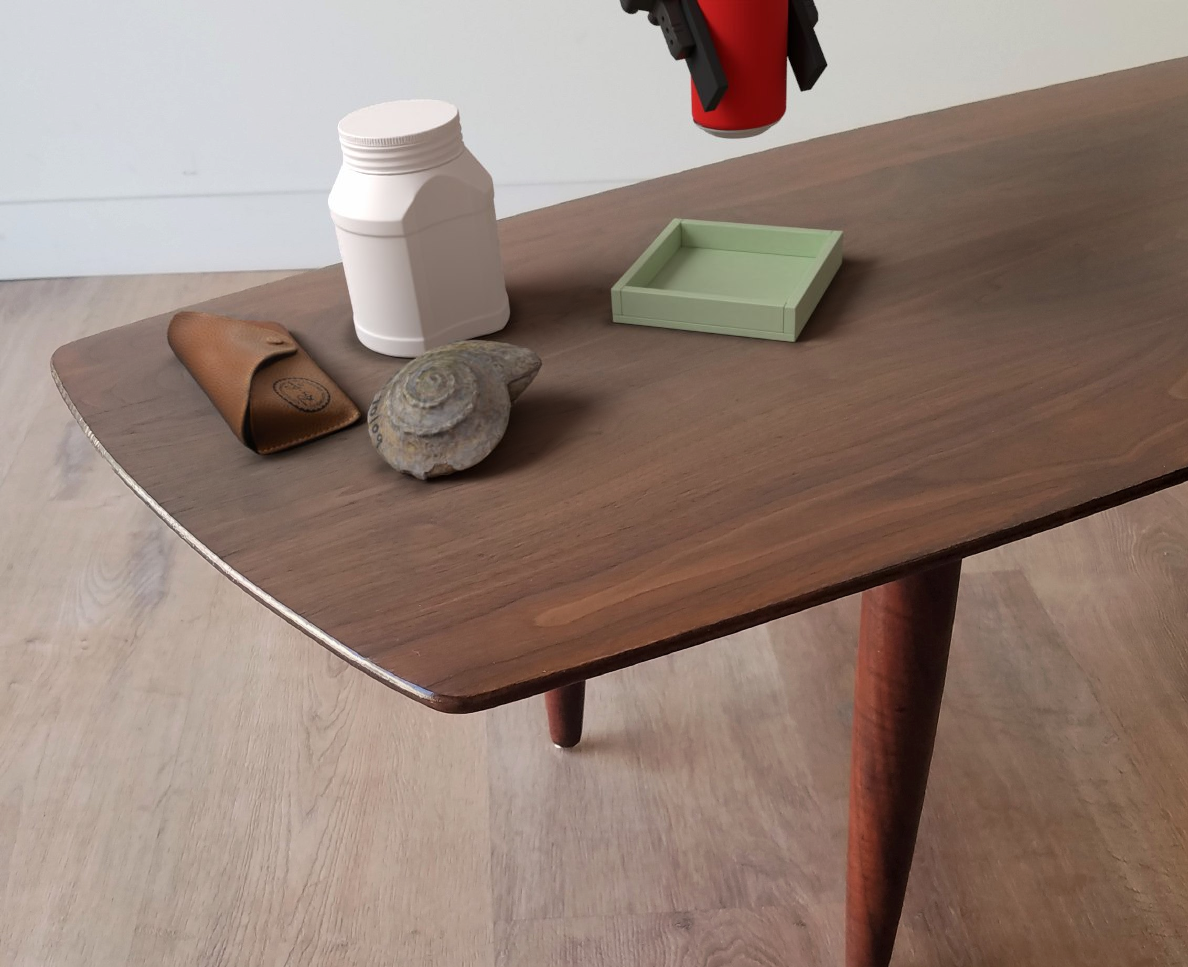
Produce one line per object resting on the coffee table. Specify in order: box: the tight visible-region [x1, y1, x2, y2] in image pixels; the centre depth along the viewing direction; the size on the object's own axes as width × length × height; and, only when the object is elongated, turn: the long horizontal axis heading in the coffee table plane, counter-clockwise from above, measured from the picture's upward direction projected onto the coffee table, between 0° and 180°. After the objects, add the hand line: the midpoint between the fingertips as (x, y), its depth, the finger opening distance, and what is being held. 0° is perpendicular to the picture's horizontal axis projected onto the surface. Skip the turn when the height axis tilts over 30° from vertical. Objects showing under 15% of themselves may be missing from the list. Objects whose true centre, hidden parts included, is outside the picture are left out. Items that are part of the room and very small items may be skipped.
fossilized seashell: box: [367, 339, 543, 481], centre depth 77 cm, size 11×11×7 cm
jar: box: [327, 98, 511, 359], centre depth 87 cm, size 12×10×15 cm
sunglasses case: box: [166, 310, 362, 456], centre depth 84 cm, size 18×7×7 cm
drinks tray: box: [610, 217, 844, 343], centre depth 91 cm, size 14×14×3 cm
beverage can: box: [690, 0, 788, 140], centre depth 78 cm, size 6×6×12 cm
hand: (765, 88), depth 77 cm, fingers closed on beverage can, 6 cm apart
